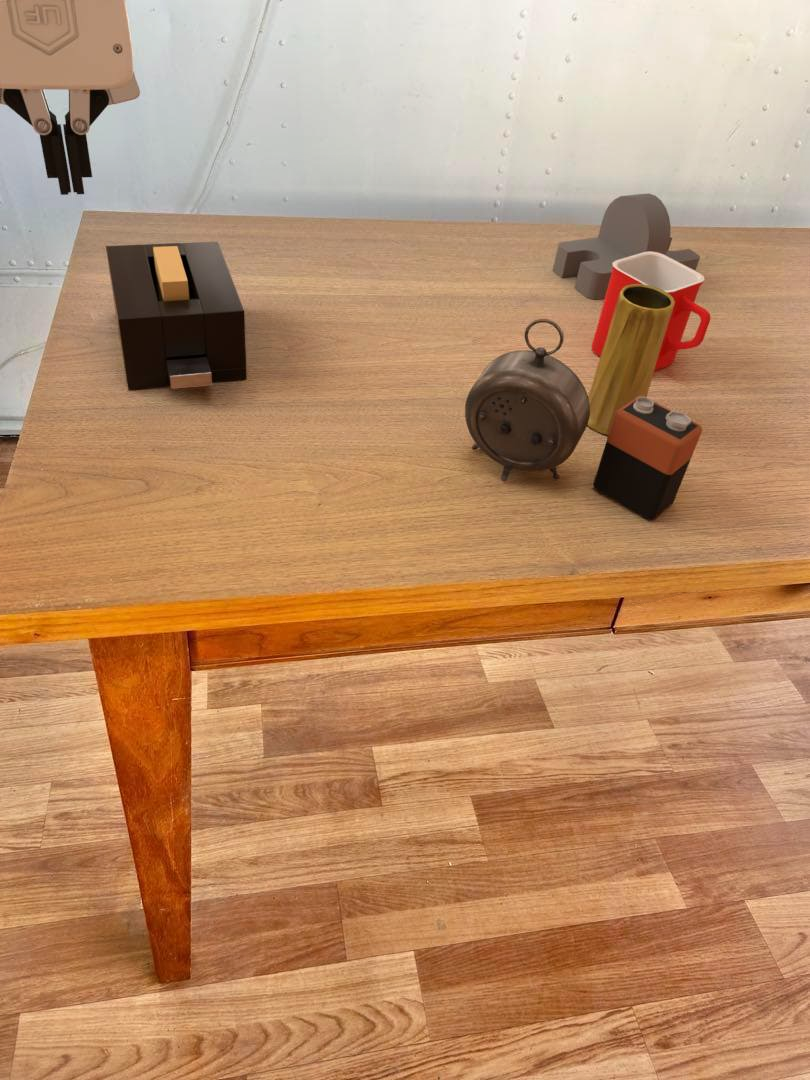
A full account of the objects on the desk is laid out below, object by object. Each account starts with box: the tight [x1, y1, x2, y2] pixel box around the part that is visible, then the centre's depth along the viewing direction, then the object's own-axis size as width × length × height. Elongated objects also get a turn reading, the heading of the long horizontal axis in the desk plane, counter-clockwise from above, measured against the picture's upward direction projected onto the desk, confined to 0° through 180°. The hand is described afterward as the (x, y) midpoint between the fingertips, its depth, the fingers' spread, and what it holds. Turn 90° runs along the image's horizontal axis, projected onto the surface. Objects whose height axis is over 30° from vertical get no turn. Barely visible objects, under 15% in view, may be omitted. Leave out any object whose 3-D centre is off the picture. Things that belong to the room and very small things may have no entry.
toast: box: [153, 246, 189, 301], centre depth 90 cm, size 2×8×8 cm, turn 18°
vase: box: [587, 284, 675, 436], centre depth 87 cm, size 6×6×14 cm
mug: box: [591, 251, 711, 372], centre depth 97 cm, size 12×8×11 cm
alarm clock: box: [464, 318, 590, 483], centre depth 78 cm, size 11×5×16 cm, turn 65°
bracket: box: [552, 192, 701, 300], centre depth 114 cm, size 10×18×11 cm, turn 117°
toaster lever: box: [166, 357, 213, 390], centre depth 86 cm, size 4×3×2 cm
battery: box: [592, 396, 703, 521], centre depth 79 cm, size 4×7×10 cm, turn 47°
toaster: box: [105, 240, 247, 391], centre depth 91 cm, size 12×16×8 cm
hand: (71, 186), depth 61 cm, fingers closed
